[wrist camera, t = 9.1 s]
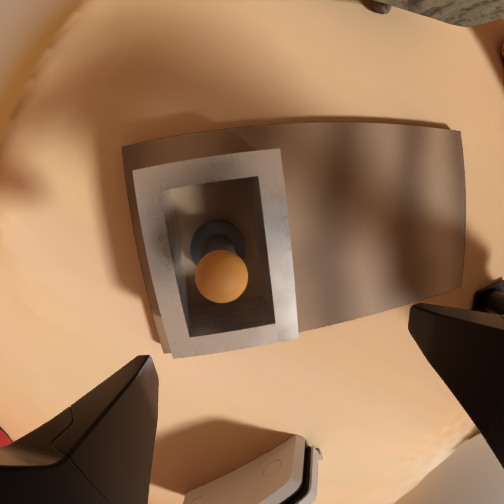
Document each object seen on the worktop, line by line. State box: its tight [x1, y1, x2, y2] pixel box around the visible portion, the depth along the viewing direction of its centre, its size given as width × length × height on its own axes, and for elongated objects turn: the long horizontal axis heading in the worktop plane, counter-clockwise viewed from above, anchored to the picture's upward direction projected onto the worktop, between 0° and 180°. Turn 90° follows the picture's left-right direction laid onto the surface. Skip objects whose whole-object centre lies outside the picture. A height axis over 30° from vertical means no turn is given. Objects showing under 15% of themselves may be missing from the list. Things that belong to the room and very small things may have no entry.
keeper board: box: [122, 122, 466, 353], centre depth 16 cm, size 26×14×8 cm, turn 97°
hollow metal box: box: [132, 148, 299, 359], centre depth 16 cm, size 7×10×4 cm
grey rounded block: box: [183, 434, 323, 504], centre depth 21 cm, size 17×5×10 cm, turn 131°
